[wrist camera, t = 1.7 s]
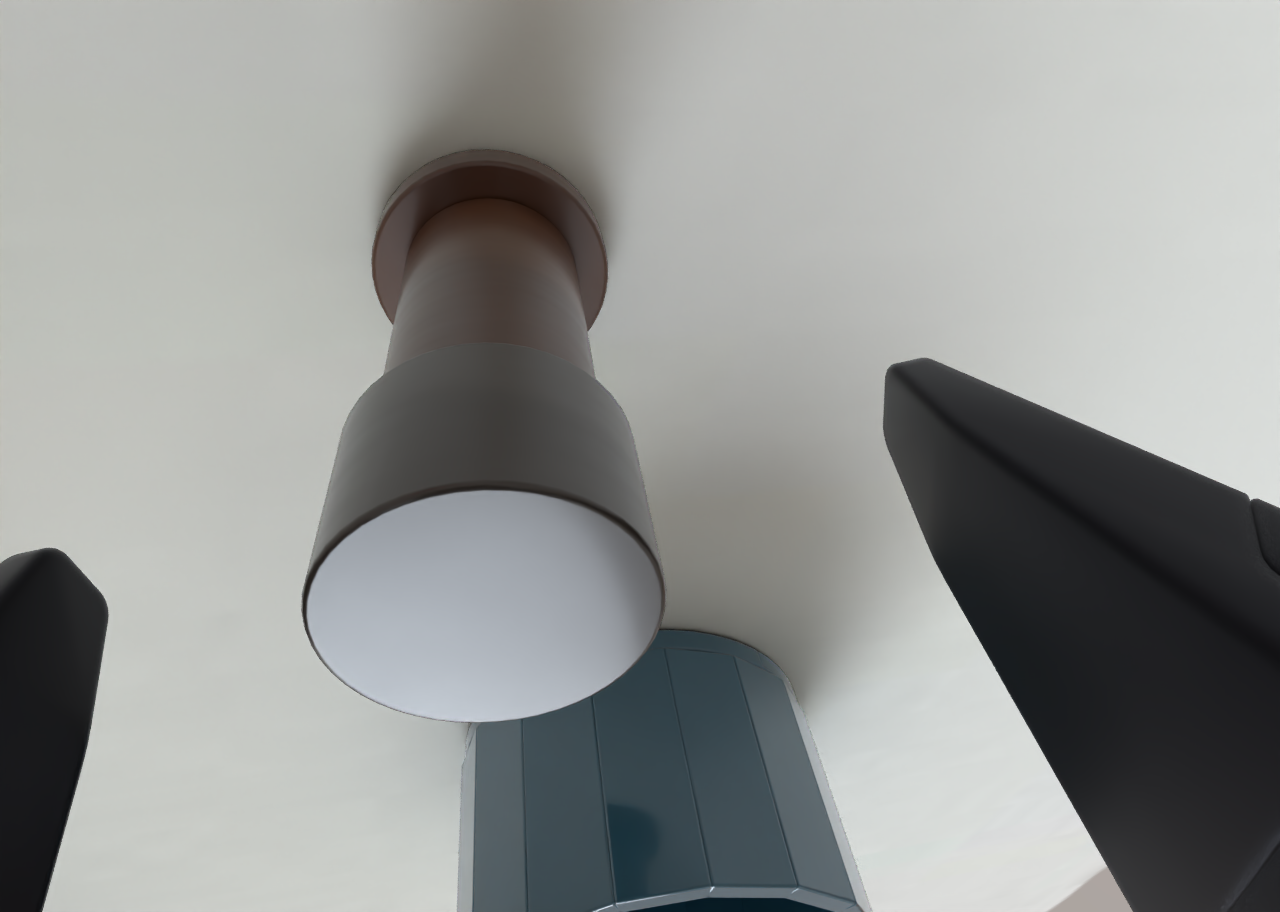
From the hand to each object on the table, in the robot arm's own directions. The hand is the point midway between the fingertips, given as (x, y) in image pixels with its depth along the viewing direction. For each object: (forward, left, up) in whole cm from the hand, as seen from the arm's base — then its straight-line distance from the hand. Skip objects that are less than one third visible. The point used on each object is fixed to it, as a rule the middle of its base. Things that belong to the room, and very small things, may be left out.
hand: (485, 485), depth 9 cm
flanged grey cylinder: (0, 0, -6) cm, 6 cm away
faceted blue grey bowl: (-9, -11, -6) cm, 15 cm away
